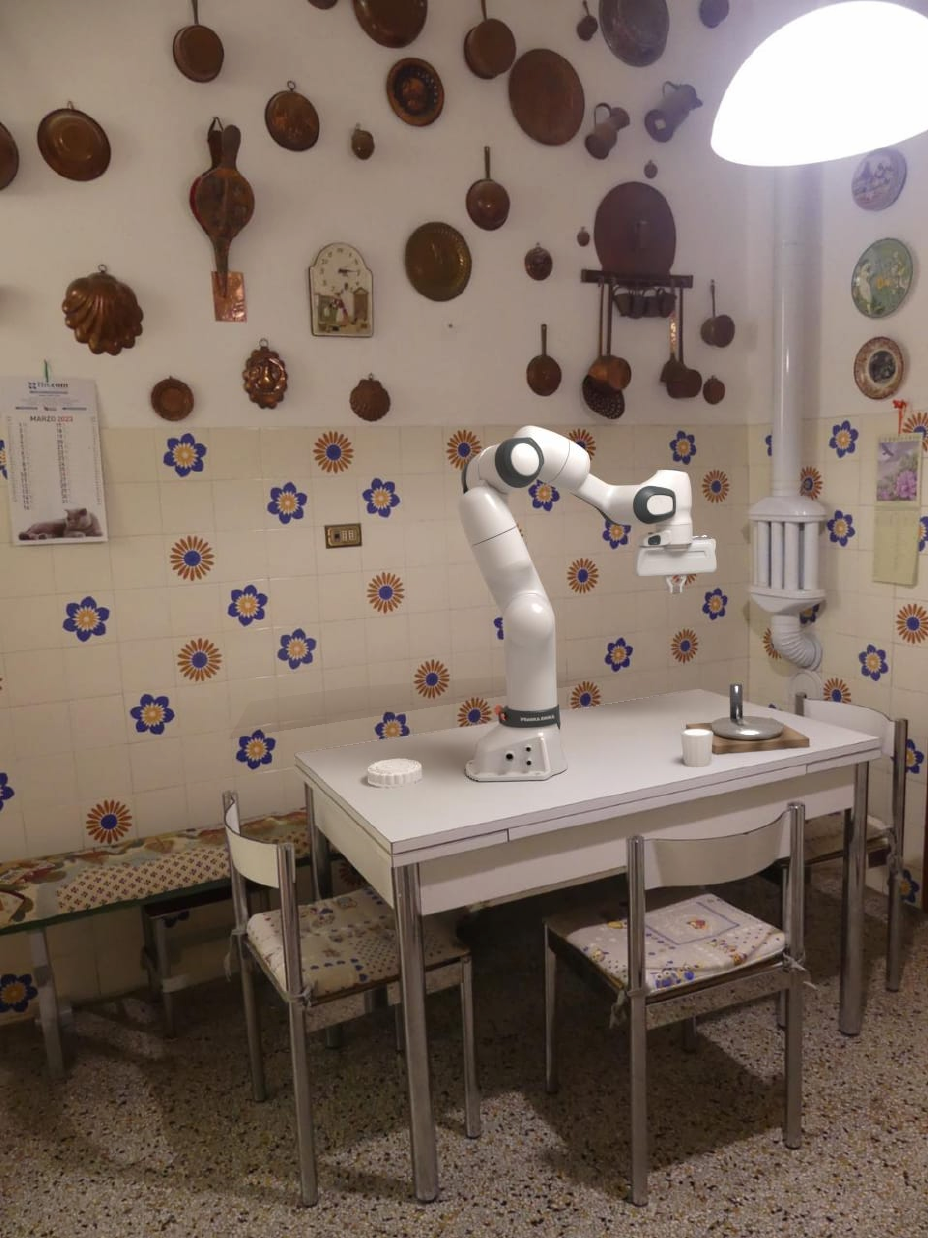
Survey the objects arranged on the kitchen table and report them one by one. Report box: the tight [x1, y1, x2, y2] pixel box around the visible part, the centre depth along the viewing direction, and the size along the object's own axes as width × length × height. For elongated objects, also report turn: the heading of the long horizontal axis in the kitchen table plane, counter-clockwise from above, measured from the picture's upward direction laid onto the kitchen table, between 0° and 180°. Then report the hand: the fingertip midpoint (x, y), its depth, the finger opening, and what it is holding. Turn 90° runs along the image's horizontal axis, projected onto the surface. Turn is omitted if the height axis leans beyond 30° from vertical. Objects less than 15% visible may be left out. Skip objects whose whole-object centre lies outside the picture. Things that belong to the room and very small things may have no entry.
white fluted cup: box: [680, 729, 713, 768], centre depth 207 cm, size 7×7×7 cm
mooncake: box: [366, 757, 423, 785], centre depth 207 cm, size 12×12×4 cm
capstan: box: [712, 683, 784, 740], centre depth 222 cm, size 16×16×10 cm
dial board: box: [685, 717, 810, 755], centre depth 223 cm, size 22×20×2 cm
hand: (675, 593), depth 231 cm, fingers closed
